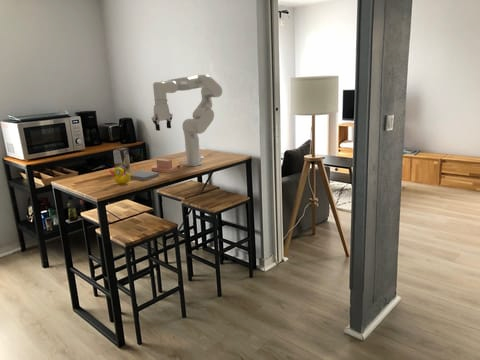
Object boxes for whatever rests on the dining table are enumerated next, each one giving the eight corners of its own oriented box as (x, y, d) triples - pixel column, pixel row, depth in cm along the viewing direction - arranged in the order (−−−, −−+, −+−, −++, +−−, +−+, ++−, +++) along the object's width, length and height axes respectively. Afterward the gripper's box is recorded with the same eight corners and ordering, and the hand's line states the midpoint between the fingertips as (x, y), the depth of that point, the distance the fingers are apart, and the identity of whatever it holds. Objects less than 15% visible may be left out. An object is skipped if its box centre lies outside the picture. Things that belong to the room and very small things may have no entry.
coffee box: (124, 174, 253) (121, 150, 249) (115, 174, 254) (112, 150, 250) (131, 171, 262) (128, 147, 257) (122, 171, 263) (119, 147, 259)
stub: (160, 167, 269) (159, 157, 267) (177, 170, 260) (177, 159, 258) (151, 170, 263) (151, 159, 261) (169, 172, 254) (168, 162, 252)
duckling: (110, 185, 230) (108, 168, 227) (112, 183, 235) (110, 166, 232) (130, 184, 231) (128, 167, 228) (131, 181, 236) (129, 165, 233)
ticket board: (141, 173, 255) (141, 170, 255) (159, 176, 247) (159, 172, 246) (127, 177, 246) (126, 174, 245) (145, 180, 237) (144, 177, 237)
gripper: (166, 100, 256) (169, 127, 260) (146, 103, 242) (149, 131, 247) (174, 100, 251) (177, 127, 256) (154, 103, 238) (157, 131, 243)
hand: (163, 129), depth 251 cm, fingers open, 9 cm apart
